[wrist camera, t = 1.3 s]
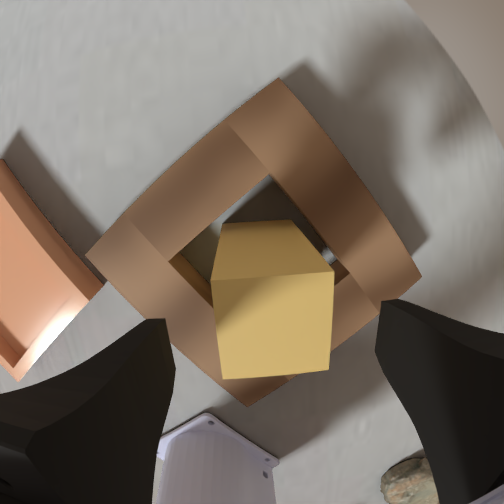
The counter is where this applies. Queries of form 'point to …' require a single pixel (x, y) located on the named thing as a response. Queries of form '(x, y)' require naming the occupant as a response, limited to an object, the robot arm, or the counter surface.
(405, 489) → the long grey stone
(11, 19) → the counter surface
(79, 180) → the counter surface
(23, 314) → the tray
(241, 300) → the peg
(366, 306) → the socket block
